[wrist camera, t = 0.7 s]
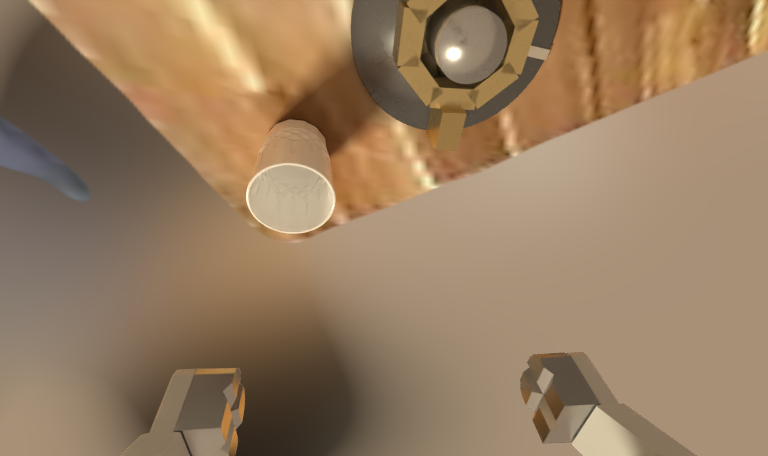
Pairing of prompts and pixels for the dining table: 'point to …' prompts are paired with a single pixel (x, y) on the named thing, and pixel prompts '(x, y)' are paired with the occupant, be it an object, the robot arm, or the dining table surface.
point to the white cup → (292, 179)
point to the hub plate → (397, 86)
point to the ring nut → (442, 91)
